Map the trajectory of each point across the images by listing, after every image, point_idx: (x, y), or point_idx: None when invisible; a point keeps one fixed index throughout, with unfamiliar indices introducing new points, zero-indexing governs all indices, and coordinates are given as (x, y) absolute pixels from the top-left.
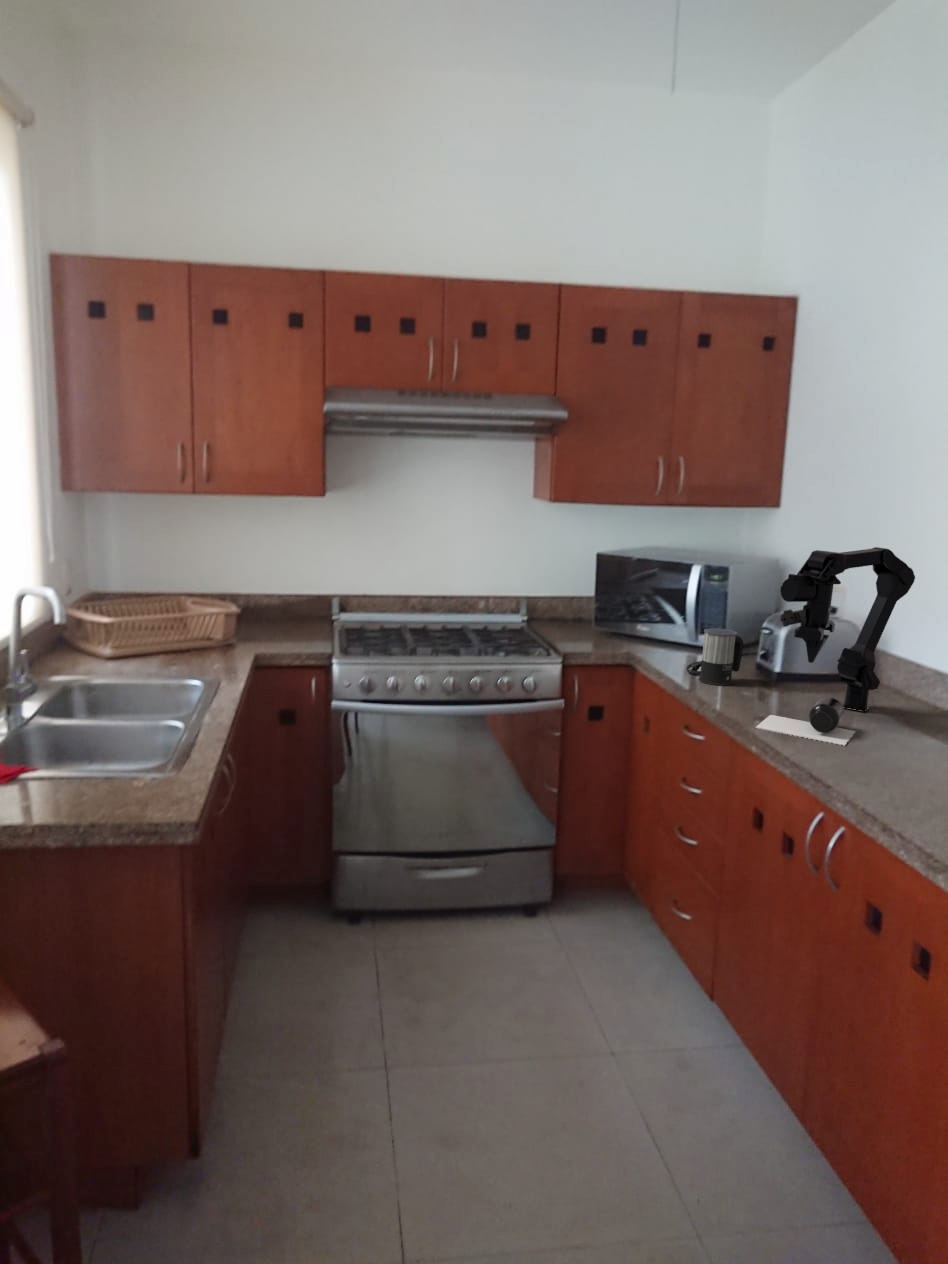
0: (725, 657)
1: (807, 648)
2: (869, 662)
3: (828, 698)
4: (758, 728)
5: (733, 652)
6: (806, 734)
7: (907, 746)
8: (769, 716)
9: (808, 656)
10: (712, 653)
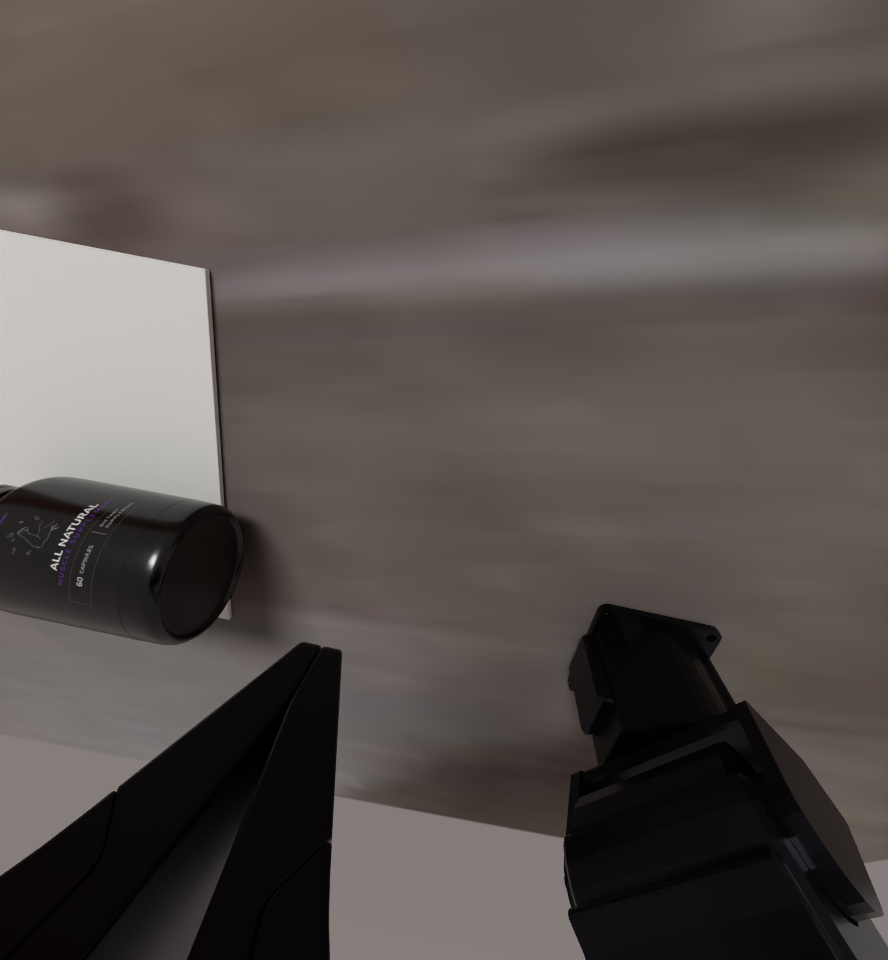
0: None
1: (73, 832)
2: None
3: (109, 609)
4: None
5: None
6: (16, 454)
7: (195, 723)
8: (161, 267)
9: (239, 700)
10: None
